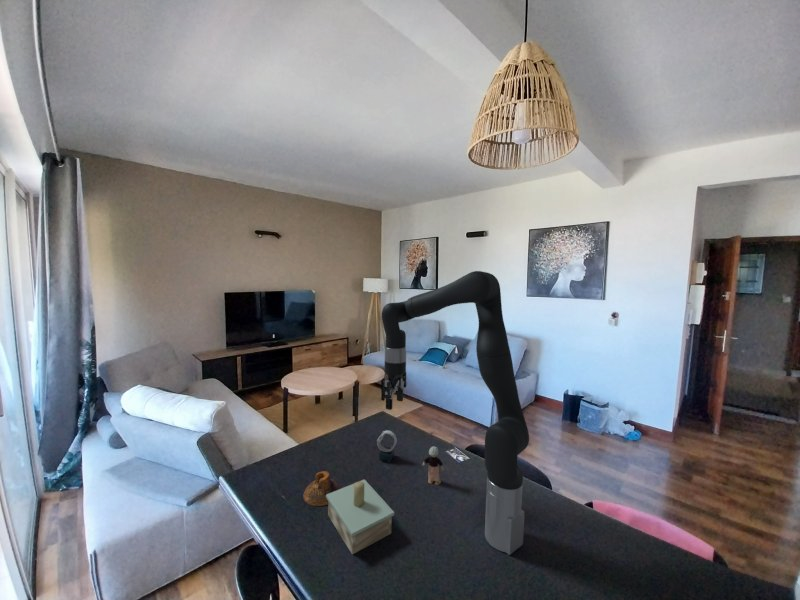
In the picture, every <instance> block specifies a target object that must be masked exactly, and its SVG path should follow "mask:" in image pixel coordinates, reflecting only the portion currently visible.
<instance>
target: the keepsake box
mask: <svg viewBox="0 0 800 600" xmlns="http://www.w3.org/2000/svg"><path fill="white" fill-rule="evenodd" d="M327 516H328V517H329V519H330V521H331V523H332V524H333V525H334V527H335V528H336V531H337V532H338V534H339V536H340V537H341V539H342V540H343V542H344V543H345V546H347V548H348V550H349V552H350V553H351V555H354V554H356V553H358V552H360V551H361V550H363V549H365V548H367V547H369V546H371V545H373V544H374V543H377V542H378V541H380V540H382V539H384V538H385V537H387V536H389V535H391V534H392V524H393V523H392V519H393V516H391V517H389V518H387V519H386V520H384V521H382V522H380V523H378V524H376V525H374V526H372V527H370V528H368V529H366V530H364V531H362V532H360V533H358V534H356V535H354V536H351V535H350V533H349V532H348V530H347V529H346V527H345V526H344V524H343V523H342V521H341V520H340V518H339V516H338V515H337V513H336V512H335V510H334V509H333V507H332V506H331V504H330V503H329V501H328V505H327Z"/></svg>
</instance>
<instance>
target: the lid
mask: <svg viewBox="0 0 800 600" xmlns="http://www.w3.org/2000/svg"><path fill="white" fill-rule="evenodd" d="M326 498H327V500H328V501H329V503H330V504H331V506H332V507H333V509H334V510H335V512H336V513H337V515H338V516H339V518H340V520H341V521H342V523H343V524H344V526H345V527H346V529H347V530H348V532H349V533H350V535H351V536H354V535H356V534H358V533H360V532H362V531H364V530H366V529H368V528H370V527H372V526H374V525H376V524H378V523H380V522H382V521H384V520H386V519H387V518H389V517H391V516H392V517H393V516H395V511H394V510H393V509H392V508H391V507H390V506H389V504H388V503H387V502H385V500H384V499H383V498H382V497H381V496H380V494H379V493H377V491H375V489H374V488H373V487H372V486H371V485H370V484H369V483H368V482H367V480H366V479H361V480H359V481H356V482H354V483H352V484H349V485H347V486H344V487H342V488H340V489H339V490H337V491H334V492H332V493H329V494H327V495H326Z"/></svg>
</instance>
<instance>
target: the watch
mask: <svg viewBox="0 0 800 600" xmlns="http://www.w3.org/2000/svg"><path fill="white" fill-rule="evenodd" d="M386 435H389V436H391V437H392V438H393V440H394V442H393V444H392V446H391V447H388V446H383V445H382V444H381V442H382V440H383V439H384V438H385V436H386ZM376 442H377V443H376V445H377V447H378V449H379V450H380V451H379V453H378V454H379V455H378V456H379V457H378V460H379V461H381V462H383V463H385V464H390V463H391V462H392V459H394V455H395V447H396V445H397V443H398V438H397V435H396V434H395V432H394V431H391V430H388V429H386V430H383V431H382V432H381V433H380V435H379V437H378V438H377V440H376Z"/></svg>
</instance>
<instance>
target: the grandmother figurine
mask: <svg viewBox="0 0 800 600" xmlns="http://www.w3.org/2000/svg"><path fill="white" fill-rule="evenodd" d="M428 454H429V455H430V456H427V457H426V458H424V460H423V462H422V466H423V467H425V466H426V465H427V464H428V466H427V467H428V472H427V473H428V475H427V477H428V480H427V482H428V484H430V485H433V484H434V486H435V485H436V486H439V485H440V484H441V483H442V482H441V479H440V470H441V471H442V472H443V471H445V467H444V464H443V462H442V460H441V459H440V458H439V457H438V455H439V449H438V447H437V446H431V447H430V448H429V450H428Z"/></svg>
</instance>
